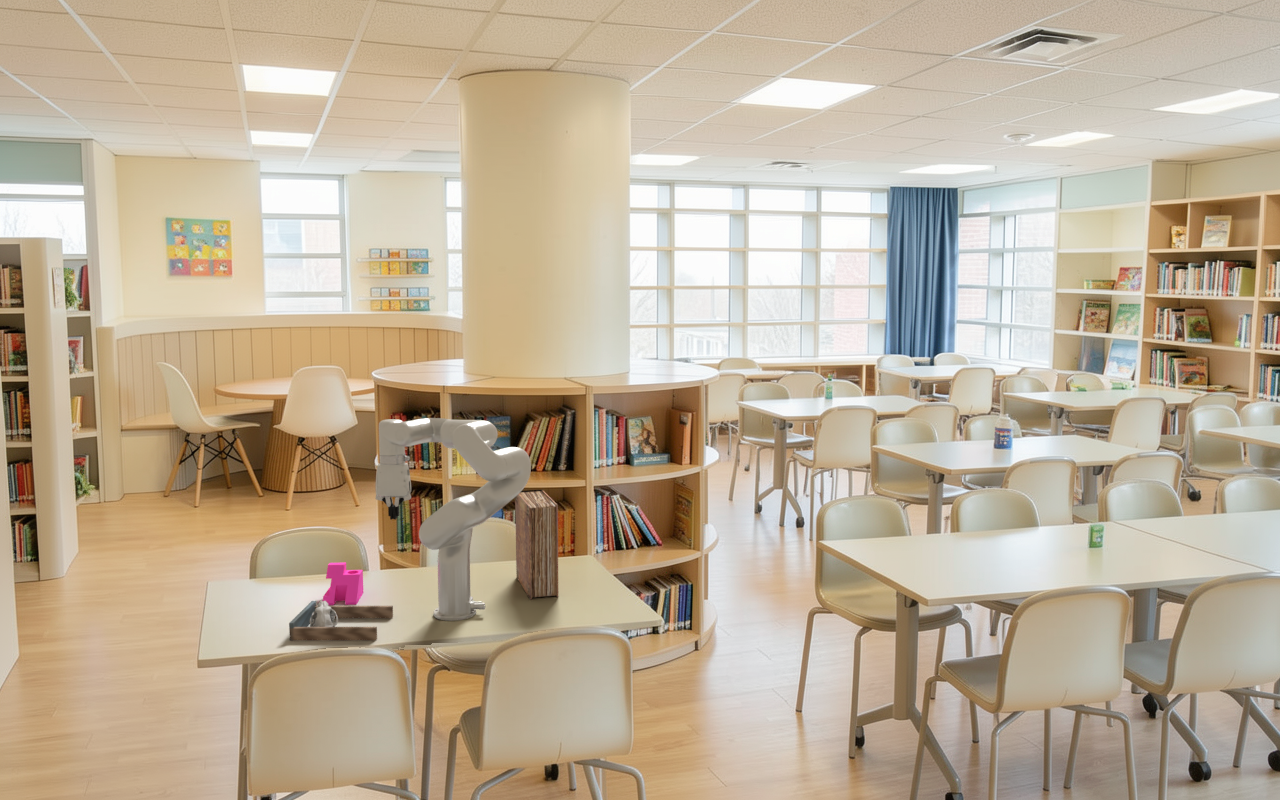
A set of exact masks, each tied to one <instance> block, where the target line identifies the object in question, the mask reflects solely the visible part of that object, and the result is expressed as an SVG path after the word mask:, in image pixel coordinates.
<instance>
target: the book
mask: <svg viewBox="0 0 1280 800" xmlns="http://www.w3.org/2000/svg"><path fill="white" fill-rule="evenodd" d="M514 504H515V505H514V506H515V507H514V508H515V514H514V515H515V516H514V517H515V554H516V555H515V556H516V558H515V560H516V561H515V564H516V565H515V567H516V579H517V580H518V582H519V584H520V585H521V587H522V589H523V591H524V592H525V594H526V595H527V597H528V598H529V600H530V601H531V600H532V599H533V598H541V597H542V598H543V597H544V598H545V597H553V596H556V597H557V598H558V597H559V513H558V512H559V507H558V503H556V502H555V500H554V499H553V498H552V497H550V496H549V495H548V493H546V492H545V490H543V489H528V490H522V491H521V492H520V493H519V494H518V495H517V496H516V497H515V498H514Z"/></svg>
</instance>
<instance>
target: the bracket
mask: <svg viewBox="0 0 1280 800" xmlns="http://www.w3.org/2000/svg"><path fill="white" fill-rule="evenodd" d="M326 568H327V569H326V576H325V579H326V580H327V579H328V580H330V579H331V580H330V586H329V588H328V589H327V590H326V592H325V593H324V594H323V596H322V601H326V602H327V603H328V605H329V606H335V604H336V603H337V602H344V606H357V604H358V603H359V601H360V599H361V597H362V596H363V594H364V571H363V569H347V562H346V561H345V562H342V561H341V562H329V563H328V564H327V567H326Z"/></svg>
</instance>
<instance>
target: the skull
mask: <svg viewBox="0 0 1280 800" xmlns="http://www.w3.org/2000/svg"><path fill="white" fill-rule="evenodd" d="M317 606H318V607H317V608H316V609H315V611H314V612H313V613H312V616H311V618H310V621H309V623H310V624H309V627H337V624H338V622H339V618H338V617H337V614H336V612H335V611H334V610H333V609H331V607H329V606H330V605H328V603H327V602H326V601H323V600H320V601H319V602H318V603H317ZM335 616H336V618H335ZM313 618H315V619H313ZM335 619H336V620H335Z"/></svg>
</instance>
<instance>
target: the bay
mask: <svg viewBox="0 0 1280 800" xmlns="http://www.w3.org/2000/svg"><path fill="white" fill-rule="evenodd" d="M317 607H318V605H317V601H316V600H311V601H310V602H309V603H308V604H307V605H306V606H305V607H304V608H303V609H302V610H301V611H300V612H299V613H298V614H297V615H296V616H295V617H294V618H293V619H292V620H290V622H289V623H288V625H289V626H288V627H289V628H288V631H289V641H377V640H378V626H335V627H310V625H311V624H310V623H309V621H310V618H311V616H312V613H313V612H314V611H315V609H316V608H317ZM329 607H331V609H333V610H334V611H335V612H336V614H337V617H338V619H394V606H393V605H329ZM313 619H315V618H313ZM335 619H336V616H335Z"/></svg>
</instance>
